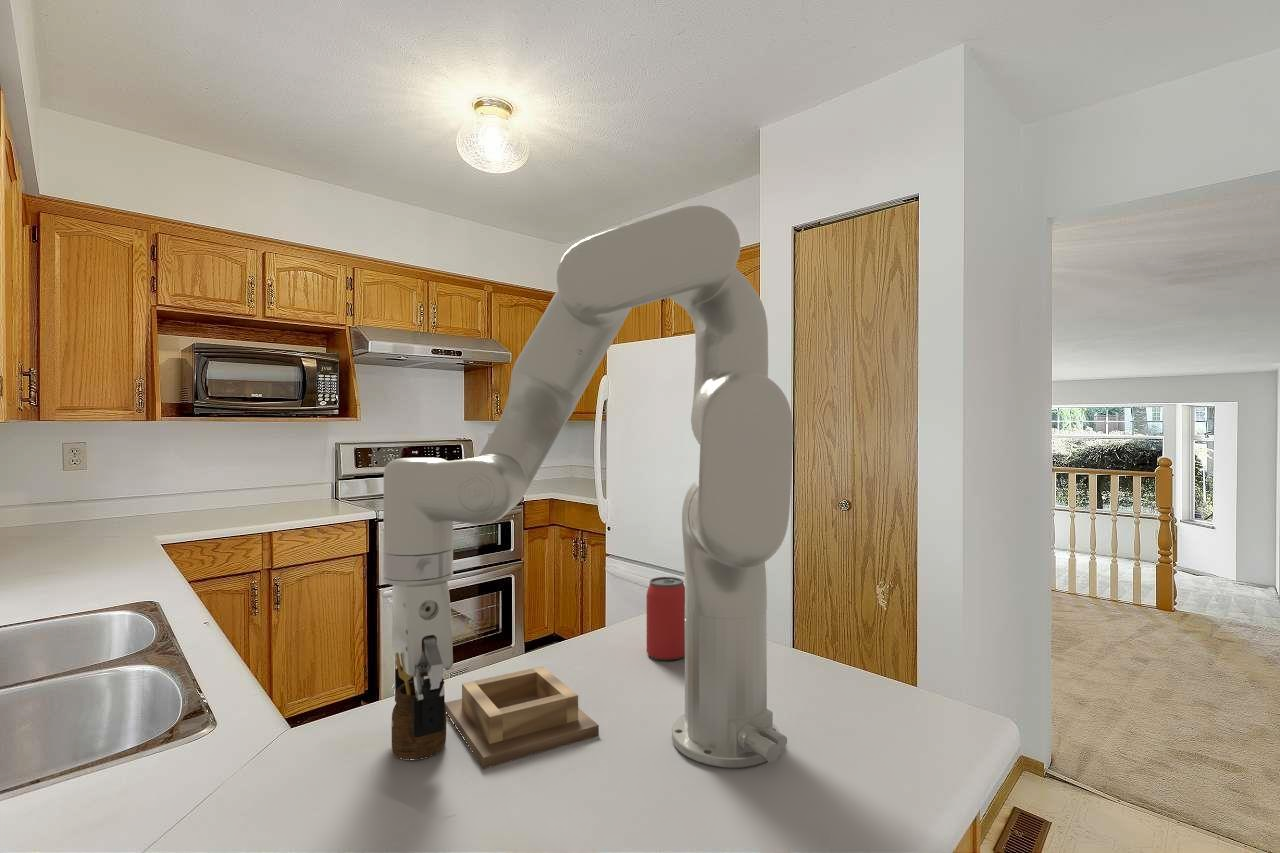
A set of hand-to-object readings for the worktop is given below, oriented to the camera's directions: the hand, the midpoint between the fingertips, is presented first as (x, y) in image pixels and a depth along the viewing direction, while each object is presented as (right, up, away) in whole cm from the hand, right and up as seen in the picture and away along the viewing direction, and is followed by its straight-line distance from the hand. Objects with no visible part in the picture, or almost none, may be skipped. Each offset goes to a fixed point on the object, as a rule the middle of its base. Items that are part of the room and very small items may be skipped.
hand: (418, 715), depth 71 cm
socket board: (+10, -4, +6) cm, 13 cm away
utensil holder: (0, -4, 0) cm, 4 cm away
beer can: (+30, -4, +30) cm, 42 cm away
